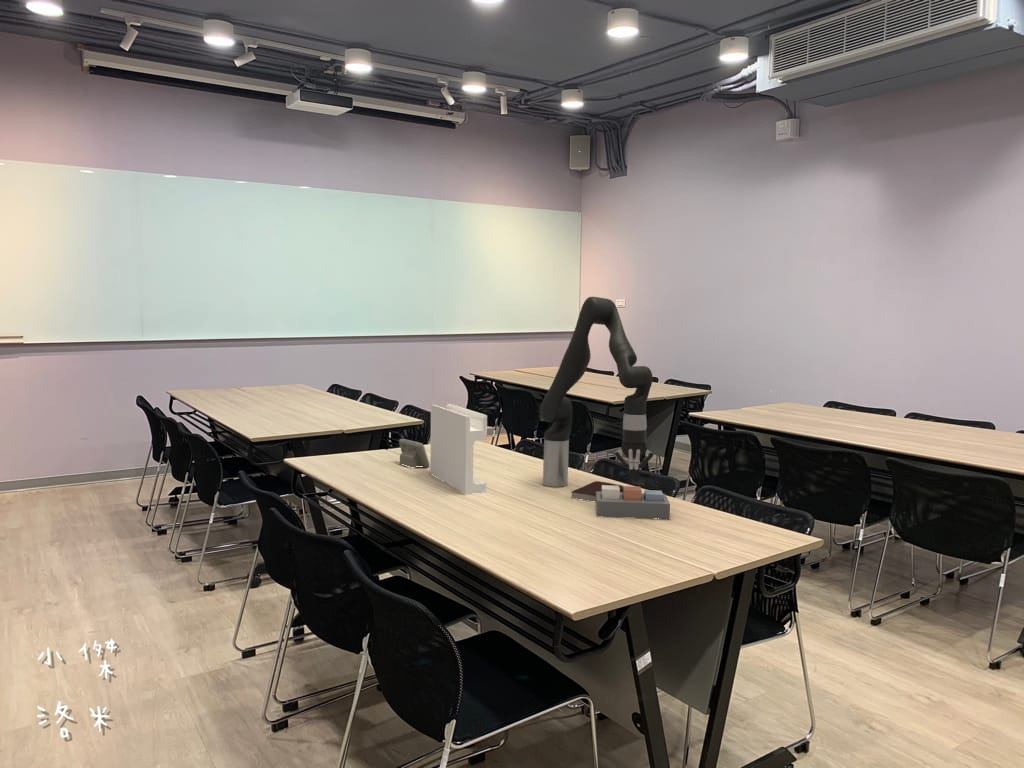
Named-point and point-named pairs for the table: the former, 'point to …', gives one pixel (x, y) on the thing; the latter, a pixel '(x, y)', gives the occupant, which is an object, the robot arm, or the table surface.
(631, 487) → the key terracotta
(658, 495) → the key blue
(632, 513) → the console
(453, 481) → the block
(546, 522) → the table surface
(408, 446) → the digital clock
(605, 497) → the key white
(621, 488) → the book
